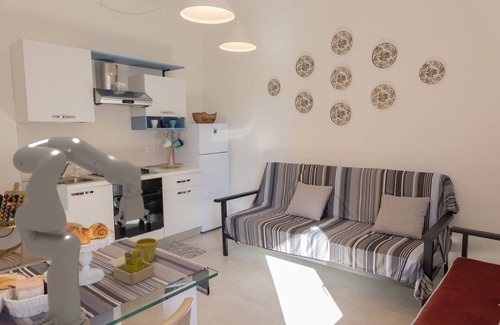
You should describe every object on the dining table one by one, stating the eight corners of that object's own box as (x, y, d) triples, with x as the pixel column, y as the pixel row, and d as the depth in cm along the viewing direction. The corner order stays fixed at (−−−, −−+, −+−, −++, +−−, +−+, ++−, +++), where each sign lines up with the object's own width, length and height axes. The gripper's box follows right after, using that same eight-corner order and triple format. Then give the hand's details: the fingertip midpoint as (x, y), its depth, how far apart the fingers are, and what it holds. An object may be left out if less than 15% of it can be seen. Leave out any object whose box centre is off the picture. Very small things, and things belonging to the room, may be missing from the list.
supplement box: (137, 278, 150) (136, 254, 149) (125, 277, 152) (124, 253, 151) (144, 273, 156) (144, 249, 155) (133, 271, 158) (132, 248, 156)
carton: (131, 286, 145) (131, 275, 144) (113, 278, 152) (112, 268, 151) (156, 274, 156) (156, 264, 155) (138, 268, 163) (137, 258, 162)
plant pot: (161, 260, 172) (161, 241, 171) (142, 266, 165) (141, 246, 163) (151, 254, 179) (150, 236, 178) (132, 260, 172) (131, 240, 171)
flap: (107, 261, 155) (107, 262, 155) (115, 267, 152) (115, 267, 152) (127, 254, 164) (127, 255, 164) (135, 259, 161) (135, 259, 161)
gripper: (142, 190, 159) (142, 227, 160) (108, 195, 144) (109, 235, 146) (153, 192, 155) (153, 230, 156) (119, 197, 140) (120, 239, 142)
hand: (132, 232), depth 151 cm, fingers open, 9 cm apart
